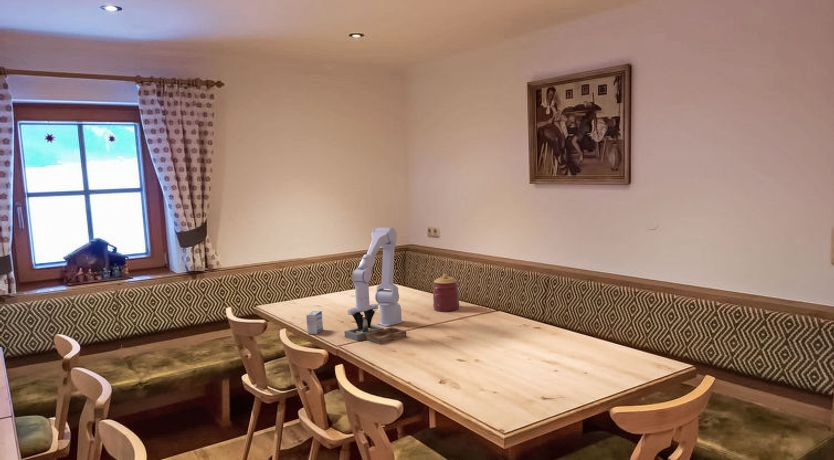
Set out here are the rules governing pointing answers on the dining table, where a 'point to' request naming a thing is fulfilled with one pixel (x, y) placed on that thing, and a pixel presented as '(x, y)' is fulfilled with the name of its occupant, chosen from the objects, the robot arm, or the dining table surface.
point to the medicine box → (314, 322)
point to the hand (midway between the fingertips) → (364, 328)
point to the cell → (364, 325)
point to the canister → (445, 294)
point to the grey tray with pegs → (360, 333)
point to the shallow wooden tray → (385, 335)
